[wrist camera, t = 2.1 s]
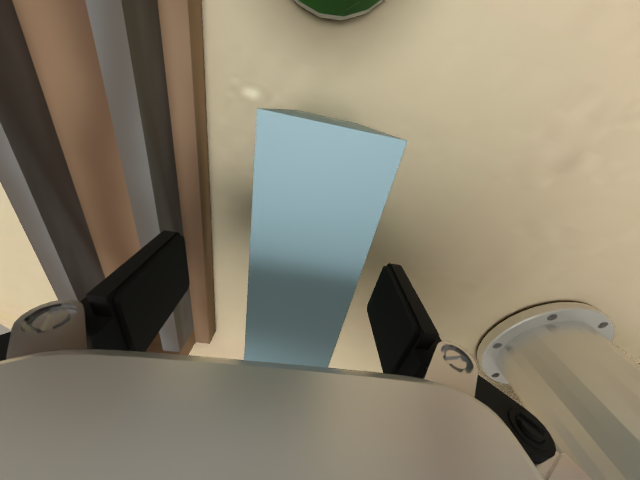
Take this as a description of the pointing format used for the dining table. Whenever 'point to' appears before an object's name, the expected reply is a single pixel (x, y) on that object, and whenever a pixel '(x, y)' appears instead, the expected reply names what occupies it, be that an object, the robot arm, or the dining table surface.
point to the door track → (109, 143)
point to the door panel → (311, 229)
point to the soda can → (338, 7)
